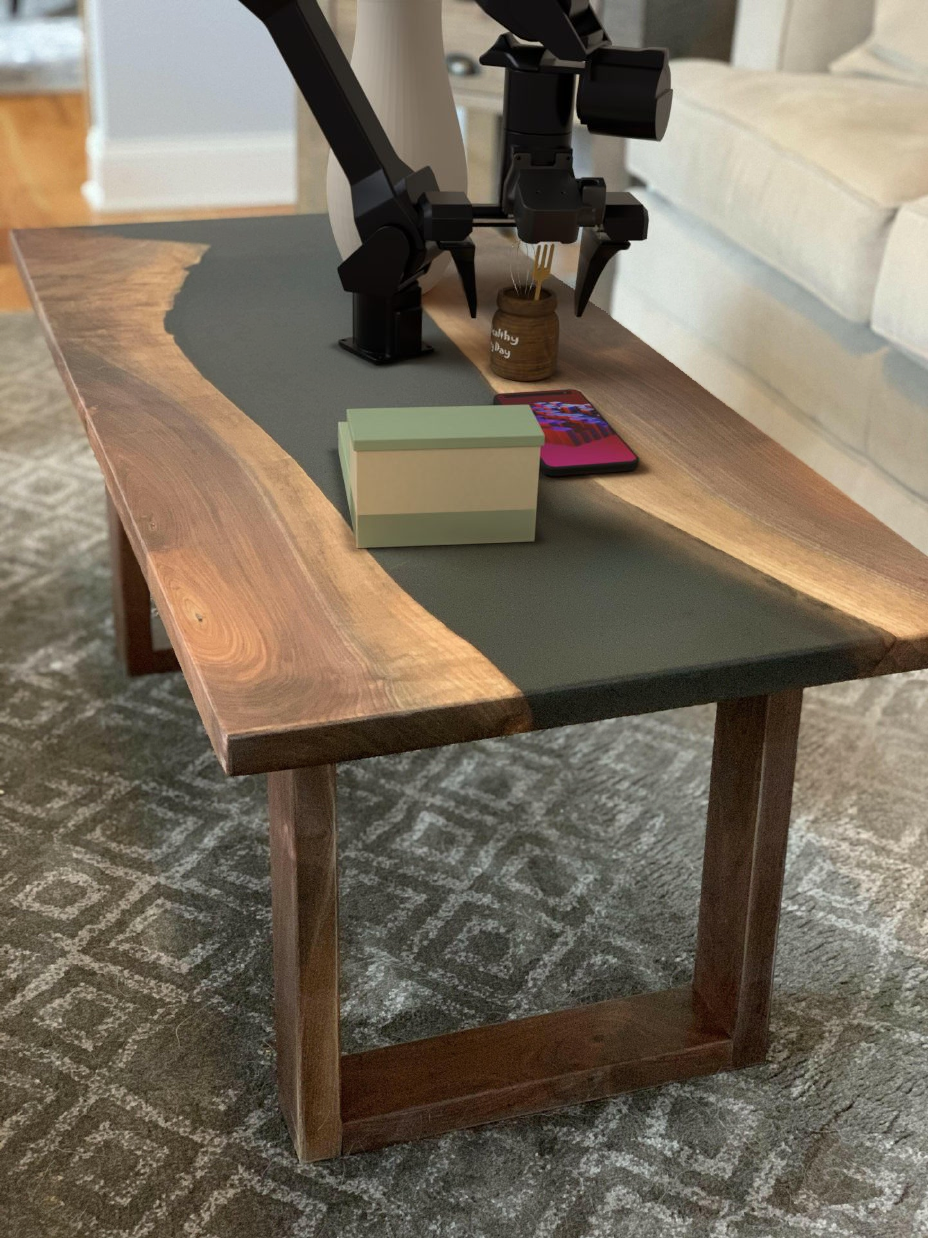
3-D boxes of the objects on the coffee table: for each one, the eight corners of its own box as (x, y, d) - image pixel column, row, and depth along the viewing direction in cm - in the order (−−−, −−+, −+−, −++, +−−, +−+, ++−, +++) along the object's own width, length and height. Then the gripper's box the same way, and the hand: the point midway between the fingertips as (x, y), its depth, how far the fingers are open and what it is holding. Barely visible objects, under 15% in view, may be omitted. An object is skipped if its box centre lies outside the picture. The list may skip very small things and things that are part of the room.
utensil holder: (540, 356, 127) (548, 222, 121) (568, 380, 122) (579, 242, 116) (479, 362, 125) (484, 226, 119) (505, 387, 120) (513, 246, 114)
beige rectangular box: (335, 452, 107) (334, 353, 103) (496, 447, 108) (501, 350, 105) (353, 549, 93) (353, 440, 89) (537, 542, 95) (545, 434, 91)
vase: (312, 305, 138) (305, -31, 123) (347, 267, 149) (345, -44, 134) (449, 318, 136) (460, -22, 121) (474, 278, 147) (487, -36, 132)
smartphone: (545, 468, 103) (490, 393, 116) (544, 479, 104) (489, 403, 116) (643, 461, 105) (579, 387, 117) (642, 472, 105) (578, 397, 118)
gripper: (436, 148, 105) (430, 349, 113) (677, 150, 108) (655, 346, 116) (417, 119, 114) (413, 306, 122) (639, 121, 117) (621, 304, 125)
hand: (525, 316), depth 121 cm, fingers open, 9 cm apart
